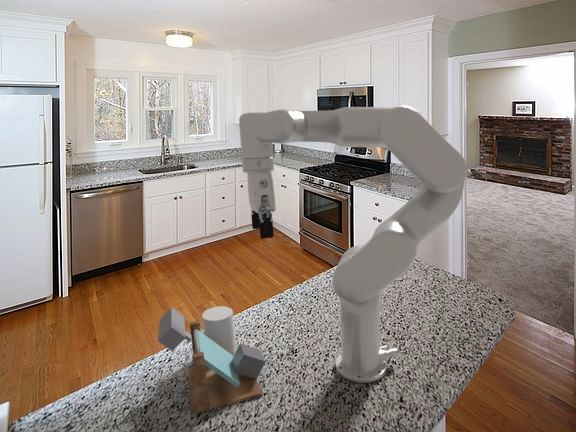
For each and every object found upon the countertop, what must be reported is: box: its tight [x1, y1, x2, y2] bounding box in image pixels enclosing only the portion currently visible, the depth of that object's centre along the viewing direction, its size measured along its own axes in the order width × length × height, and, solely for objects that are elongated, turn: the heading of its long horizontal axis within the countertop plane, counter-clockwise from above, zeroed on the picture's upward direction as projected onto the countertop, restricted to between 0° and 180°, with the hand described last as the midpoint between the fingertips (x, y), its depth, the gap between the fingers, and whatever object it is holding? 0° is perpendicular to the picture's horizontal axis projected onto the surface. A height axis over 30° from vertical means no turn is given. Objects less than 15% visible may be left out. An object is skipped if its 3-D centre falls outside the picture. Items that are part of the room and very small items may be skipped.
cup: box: [201, 305, 237, 357], centre depth 103 cm, size 8×8×12 cm
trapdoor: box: [157, 306, 240, 387], centre depth 88 cm, size 21×13×4 cm
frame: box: [187, 320, 263, 414], centre depth 90 cm, size 16×16×14 cm
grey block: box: [232, 343, 267, 380], centre depth 93 cm, size 5×5×6 cm
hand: (262, 232), depth 95 cm, fingers open, 9 cm apart
